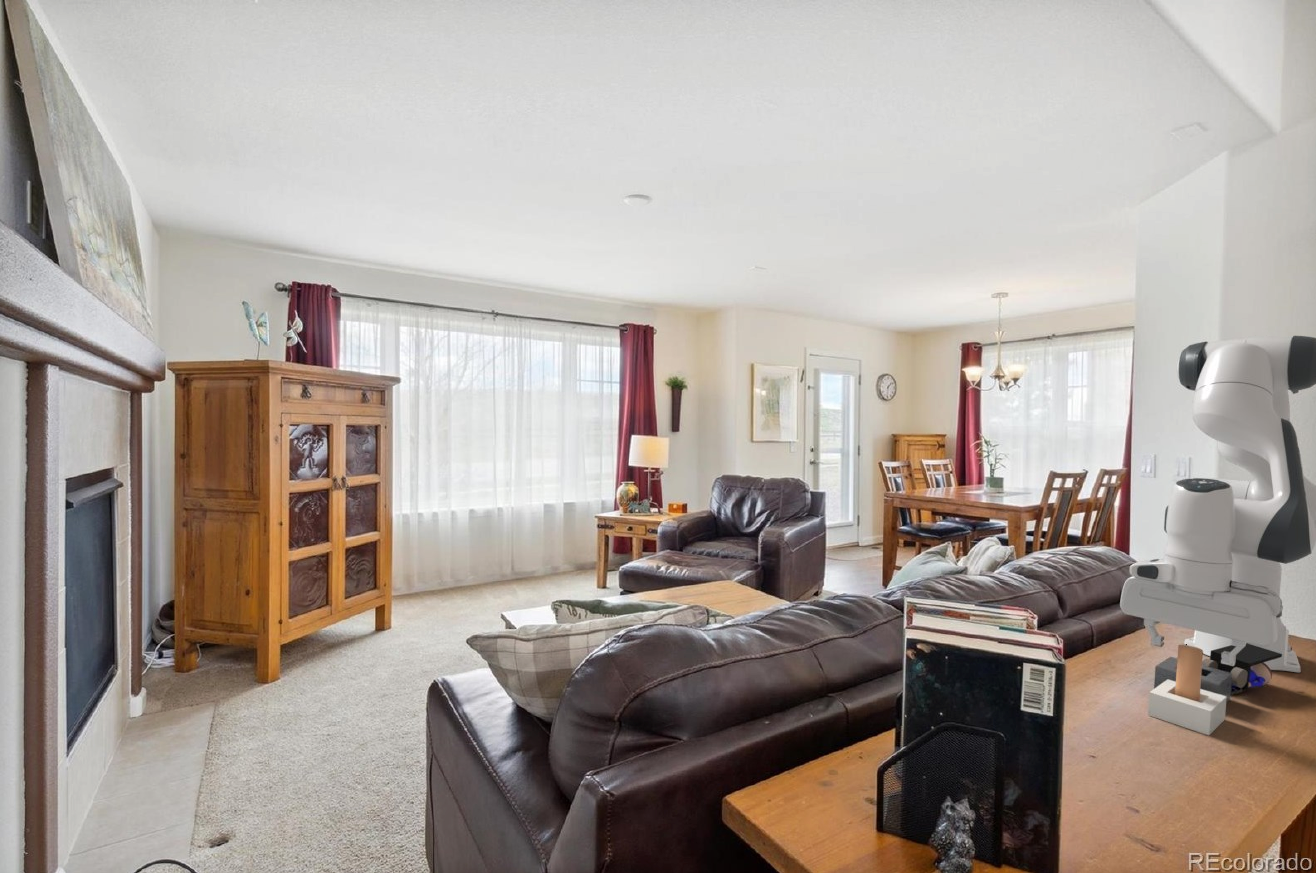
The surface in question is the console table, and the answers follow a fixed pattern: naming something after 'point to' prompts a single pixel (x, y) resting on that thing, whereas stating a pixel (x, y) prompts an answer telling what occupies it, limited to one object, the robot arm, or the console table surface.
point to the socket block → (1187, 708)
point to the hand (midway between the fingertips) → (1191, 654)
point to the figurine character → (1245, 666)
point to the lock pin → (1189, 672)
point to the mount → (1210, 677)
